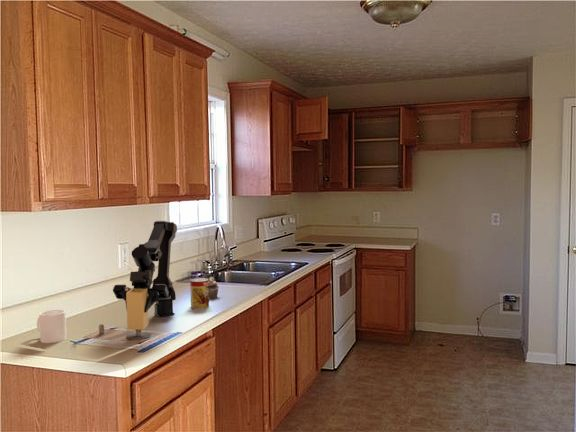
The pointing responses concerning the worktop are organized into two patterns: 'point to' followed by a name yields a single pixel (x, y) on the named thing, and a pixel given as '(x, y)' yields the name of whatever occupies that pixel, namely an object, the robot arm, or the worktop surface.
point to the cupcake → (212, 287)
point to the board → (120, 335)
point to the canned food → (199, 293)
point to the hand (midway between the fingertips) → (136, 312)
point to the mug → (52, 326)
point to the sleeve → (136, 309)
